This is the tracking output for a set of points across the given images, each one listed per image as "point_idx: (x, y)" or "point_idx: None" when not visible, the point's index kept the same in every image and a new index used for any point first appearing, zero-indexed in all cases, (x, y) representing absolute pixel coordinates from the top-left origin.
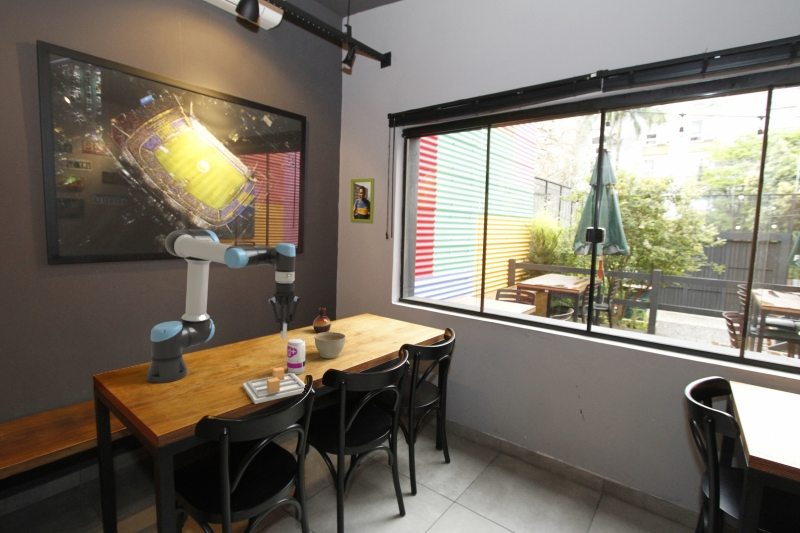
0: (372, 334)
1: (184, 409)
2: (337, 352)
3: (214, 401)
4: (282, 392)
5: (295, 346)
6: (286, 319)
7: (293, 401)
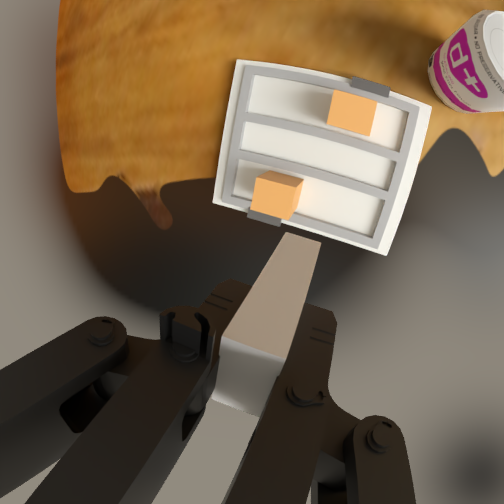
0: None
1: (99, 119)
2: None
3: (148, 114)
4: (298, 222)
5: (491, 87)
6: (244, 454)
7: None
